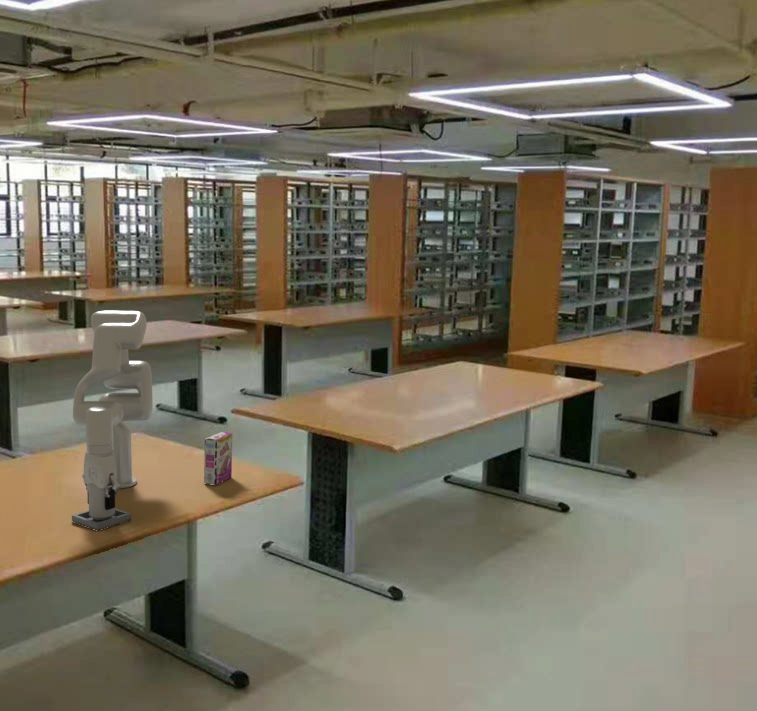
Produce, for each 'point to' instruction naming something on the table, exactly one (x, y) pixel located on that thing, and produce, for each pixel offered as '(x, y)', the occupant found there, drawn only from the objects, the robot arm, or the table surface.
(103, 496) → the can
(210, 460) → the candy bar box
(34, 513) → the table surface
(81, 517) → the tray
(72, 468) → the table surface
